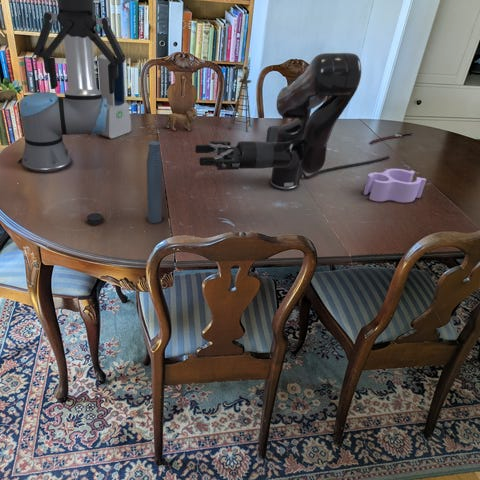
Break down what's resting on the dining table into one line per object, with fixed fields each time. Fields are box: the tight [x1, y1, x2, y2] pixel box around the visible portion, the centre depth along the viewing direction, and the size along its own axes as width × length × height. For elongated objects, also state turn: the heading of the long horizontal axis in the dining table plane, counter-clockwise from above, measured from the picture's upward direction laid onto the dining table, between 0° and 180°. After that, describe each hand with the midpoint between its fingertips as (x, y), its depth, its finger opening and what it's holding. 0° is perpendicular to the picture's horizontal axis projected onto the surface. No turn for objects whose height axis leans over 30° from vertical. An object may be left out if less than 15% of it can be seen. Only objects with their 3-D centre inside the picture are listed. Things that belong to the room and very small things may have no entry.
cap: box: [86, 212, 103, 226], centre depth 131 cm, size 4×4×2 cm
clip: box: [362, 168, 427, 203], centre depth 162 cm, size 20×12×7 cm, turn 109°
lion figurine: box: [162, 107, 198, 132], centre depth 197 cm, size 15×5×9 cm, turn 110°
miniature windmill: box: [228, 58, 252, 132], centre depth 200 cm, size 9×8×30 cm
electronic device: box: [97, 53, 132, 139], centre depth 180 cm, size 12×8×30 cm, turn 148°
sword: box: [370, 132, 414, 145], centre depth 214 cm, size 31×3×1 cm, turn 126°
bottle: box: [146, 140, 163, 224], centre depth 129 cm, size 4×4×24 cm
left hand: (83, 90), depth 112 cm, fingers open, 13 cm apart
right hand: (197, 154), depth 127 cm, fingers open, 8 cm apart
